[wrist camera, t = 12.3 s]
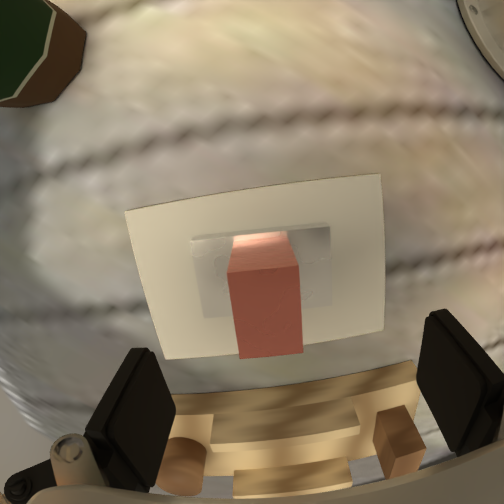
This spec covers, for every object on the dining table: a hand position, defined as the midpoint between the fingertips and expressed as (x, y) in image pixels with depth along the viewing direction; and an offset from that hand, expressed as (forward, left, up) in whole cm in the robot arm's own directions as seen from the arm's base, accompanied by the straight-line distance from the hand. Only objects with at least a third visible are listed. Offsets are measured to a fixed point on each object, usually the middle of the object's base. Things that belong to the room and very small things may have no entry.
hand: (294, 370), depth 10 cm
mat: (+1, +1, -11) cm, 11 cm away
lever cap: (+1, 0, -10) cm, 10 cm away
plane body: (+1, +15, -11) cm, 18 cm away
